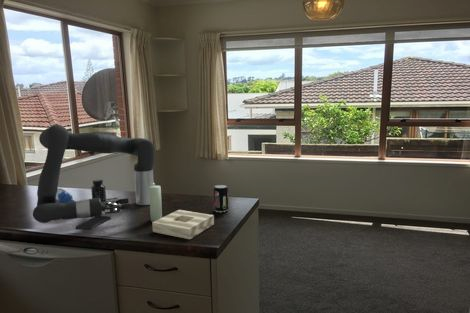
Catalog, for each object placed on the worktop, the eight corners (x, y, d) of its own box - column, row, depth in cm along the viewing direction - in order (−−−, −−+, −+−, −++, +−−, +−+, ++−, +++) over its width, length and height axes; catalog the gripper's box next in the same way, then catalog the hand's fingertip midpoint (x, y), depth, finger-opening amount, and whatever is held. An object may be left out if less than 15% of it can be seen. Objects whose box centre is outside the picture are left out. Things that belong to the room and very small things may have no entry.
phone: (112, 216, 163) (90, 228, 149) (112, 219, 163) (90, 230, 149) (97, 215, 165) (74, 226, 151) (97, 217, 165) (74, 229, 151)
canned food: (68, 210, 190) (75, 193, 192) (70, 214, 181) (79, 195, 183) (45, 204, 184) (53, 185, 186) (47, 207, 176) (56, 187, 177)
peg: (155, 217, 164) (154, 185, 161) (164, 218, 161) (163, 186, 159) (148, 220, 159) (146, 187, 157) (157, 222, 157) (155, 188, 154)
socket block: (179, 218, 162) (178, 209, 161) (213, 224, 154) (213, 215, 153) (152, 231, 146) (152, 222, 145) (189, 239, 138) (189, 229, 137)
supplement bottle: (109, 201, 189) (107, 179, 187) (100, 205, 183) (98, 182, 181) (98, 200, 192) (96, 178, 190) (89, 204, 185) (87, 181, 183)
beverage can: (228, 212, 168) (228, 187, 166) (214, 213, 168) (213, 188, 166) (228, 208, 175) (227, 184, 173) (214, 209, 174) (213, 184, 172)
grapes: (51, 217, 165) (48, 192, 163) (64, 213, 171) (61, 188, 169) (68, 221, 160) (65, 195, 158) (81, 216, 166) (78, 191, 164)
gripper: (88, 204, 141) (131, 199, 147) (87, 195, 154) (127, 190, 160) (89, 222, 143) (132, 216, 149) (89, 211, 156) (128, 207, 162)
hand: (129, 203), depth 155 cm, fingers open, 8 cm apart
